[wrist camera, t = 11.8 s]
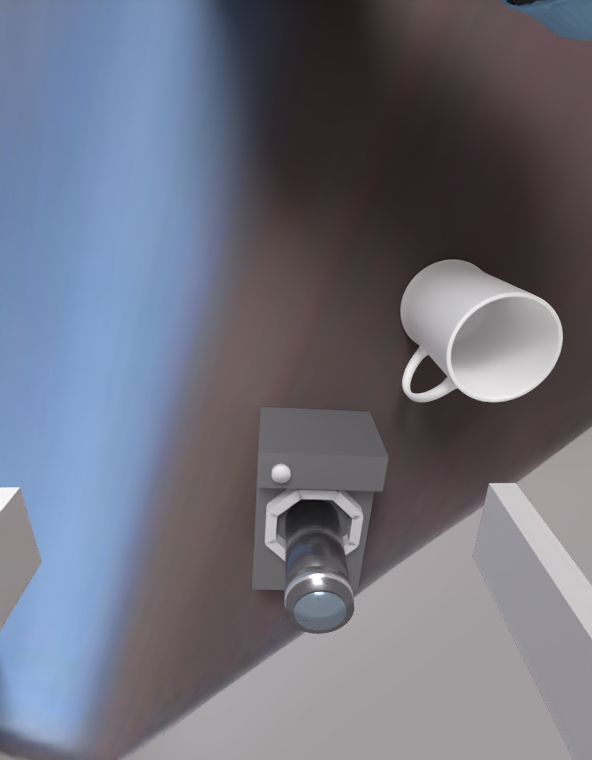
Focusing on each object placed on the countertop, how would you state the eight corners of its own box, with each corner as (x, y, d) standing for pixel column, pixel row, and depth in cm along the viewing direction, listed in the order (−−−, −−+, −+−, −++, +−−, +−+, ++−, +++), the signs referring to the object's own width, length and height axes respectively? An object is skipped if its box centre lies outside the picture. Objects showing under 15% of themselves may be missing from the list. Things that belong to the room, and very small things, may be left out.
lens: (272, 527, 45) (270, 619, 35) (305, 488, 43) (311, 575, 34) (318, 550, 46) (327, 645, 37) (351, 514, 44) (370, 604, 35)
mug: (410, 388, 46) (452, 454, 35) (354, 329, 43) (381, 380, 32) (509, 306, 43) (590, 350, 32) (456, 238, 40) (524, 260, 29)
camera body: (260, 406, 46) (257, 456, 38) (369, 411, 47) (390, 461, 39) (254, 547, 53) (250, 614, 45) (349, 549, 54) (362, 616, 46)
